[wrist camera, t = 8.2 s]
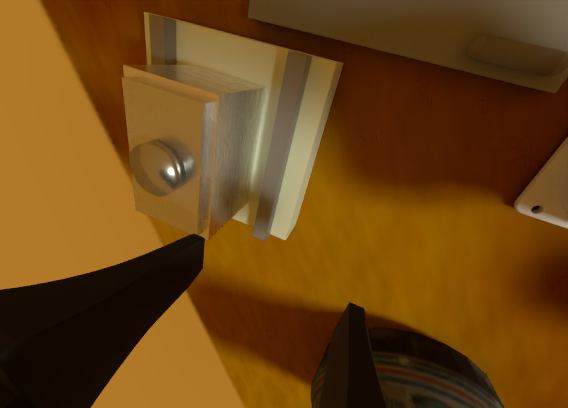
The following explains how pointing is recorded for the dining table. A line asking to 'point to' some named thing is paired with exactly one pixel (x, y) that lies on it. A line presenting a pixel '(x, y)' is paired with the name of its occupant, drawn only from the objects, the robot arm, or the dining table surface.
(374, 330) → the beer stein
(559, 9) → the mat
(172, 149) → the housing
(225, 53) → the stand
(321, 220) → the dining table surface
